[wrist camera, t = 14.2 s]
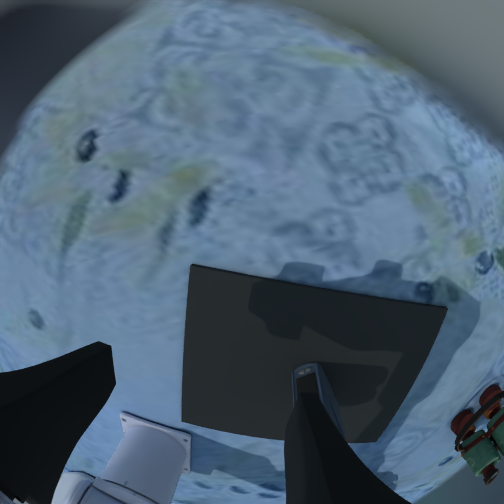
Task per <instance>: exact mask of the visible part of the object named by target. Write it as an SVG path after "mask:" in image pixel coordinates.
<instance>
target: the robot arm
mask: <svg viewBox="0 0 504 504" xmlns="http://www.w3.org/2000/svg"><path fill="white" fill-rule="evenodd" d="M115 385H116V380H115V373H114V365H113V357H112V348H111V346H110V345H107V344H105V343H102V342H100V341H98V342H95V343H92V344H90V345H87V346H85V347H82V348H80V349H77V350H75V351H73V352H70V353H68V354H65V355H63V356H60V357H58V358H55V359H52V360H49V361H46V362H44V363H41V364H38V365H35V366H31V367H28V368H24V369H20V370H15V371H10V372H2V373H0V504H15V503H14V502H13V500H14V498H16V499H17V500H18V501H20V502H21V503H24V502H25V501H26V502H27V503H28V504H51V503H52V499H53V496H54V492H55V490H56V487H57V484H58V481H59V479H60V476H61V474H62V472H63V469H64V467H65V465H66V463H67V461H68V459H69V457H70V455H71V453H72V451H73V449H74V447H75V445H76V444H77V442H78V441H79V439H80V438H81V436H82V435H83V433H84V432H85V431H86V429H87V428H88V427H89V425H90V424H91V423H92V421H93V420H94V419H95V417H96V416H97V415H98V413H99V412H100V410H101V409H102V408H103V406H104V405H105V404H106V402H107V400H108V398H109V397H110V395H111V393H112V391H113V389H114V387H115ZM120 419H121V423H122V427H123V431H124V436H123V438H122V439H121V441H120V443H119V444H118V446H117V448H116V450H115V451H114V453H113V455H112V456H111V458H110V460H109V462H108V463H107V465H106V467H105V469H104V470H103V472H102V474H101V476H100V477H96V478H95V480H94V482H92V481H90V480H88V479H86V480H82V481H79V482H78V483H77V484H76V485H75V487H74V488H73V489H72V491H71V492H70V494H69V496H68V498H67V499H66V501H65V504H171V502H172V499H173V496H174V493H175V490H176V487H177V484H178V481H179V478H180V475H181V473H184V474H190V459H191V435H190V434H188V433H185V432H181V431H178V430H174V429H171V428H167V427H164V426H161V425H158V424H155V423H152V422H149V421H146V420H143V419H140V418H138V417H135V416H132V415H130V414H127V413H124V412H121V414H120ZM284 458H285V478H286V504H411V503H410V502H408V501H407V500H405V499H403V498H402V497H401V496H399V495H398V494H396V493H395V492H394V491H393V490H391V489H390V488H389V487H388V486H387V485H385V484H384V483H383V482H382V481H381V480H379V479H378V478H377V477H376V476H375V475H374V474H373V473H372V472H371V471H370V470H369V469H368V468H367V467H366V466H365V464H364V463H363V462H362V461H361V460H360V459H359V457H358V456H357V455H356V454H355V452H354V451H353V450H352V449H351V447H350V446H349V445H348V443H347V442H346V440H345V439H344V438H343V436H342V435H341V433H340V432H339V430H338V429H337V427H336V425H335V424H334V422H333V421H332V419H331V417H330V416H329V414H328V412H327V411H326V409H325V407H324V405H323V404H322V402H321V400H320V398H319V397H318V395H317V394H316V393H308V392H300V393H299V396H298V398H297V401H296V403H295V406H294V408H293V410H292V413H291V415H290V418H289V420H288V422H287V425H286V431H285V443H284Z"/></svg>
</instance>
